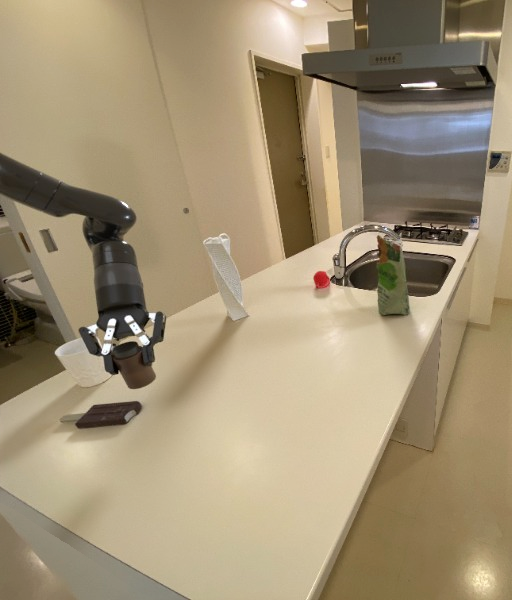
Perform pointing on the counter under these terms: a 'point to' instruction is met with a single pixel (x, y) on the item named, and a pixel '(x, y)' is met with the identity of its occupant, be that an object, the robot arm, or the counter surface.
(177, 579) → the counter surface
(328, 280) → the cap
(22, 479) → the counter surface
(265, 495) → the counter surface
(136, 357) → the pepper mill
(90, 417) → the ice cream bar
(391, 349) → the counter surface
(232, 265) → the skyscraper
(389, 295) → the pouch
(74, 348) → the white cup
